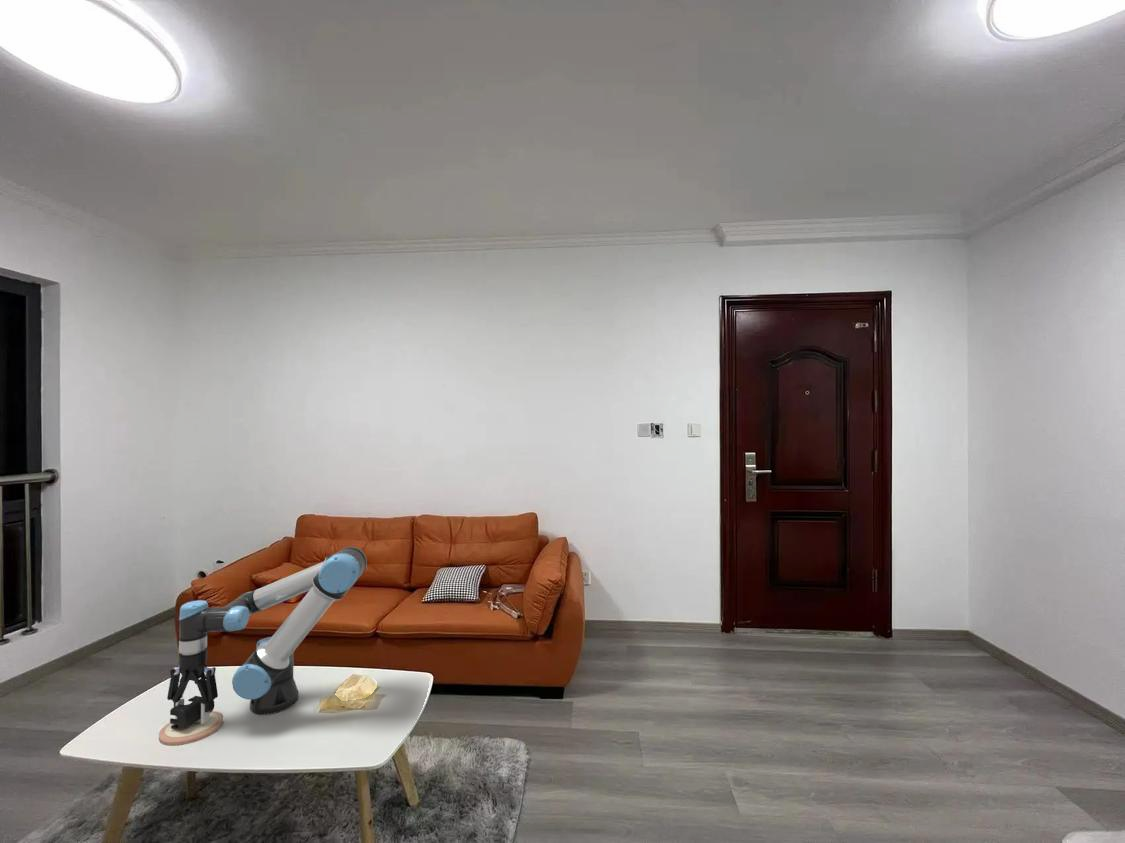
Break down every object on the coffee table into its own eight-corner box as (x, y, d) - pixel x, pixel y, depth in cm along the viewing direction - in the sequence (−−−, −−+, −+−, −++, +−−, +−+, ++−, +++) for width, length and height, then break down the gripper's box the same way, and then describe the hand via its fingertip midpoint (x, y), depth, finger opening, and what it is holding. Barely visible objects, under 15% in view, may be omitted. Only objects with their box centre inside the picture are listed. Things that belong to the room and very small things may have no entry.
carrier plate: (235, 716, 175) (235, 710, 175) (197, 746, 158) (197, 740, 158) (187, 714, 176) (187, 709, 176) (144, 744, 159) (144, 739, 159)
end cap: (185, 732, 162) (185, 711, 162) (168, 729, 163) (168, 707, 164) (214, 715, 171) (215, 695, 171) (198, 712, 173) (198, 692, 173)
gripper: (231, 646, 171) (231, 715, 171) (172, 645, 172) (171, 714, 172) (215, 656, 164) (214, 728, 163) (153, 654, 165) (152, 727, 164)
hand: (192, 721), depth 167 cm, fingers closed on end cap, 8 cm apart
